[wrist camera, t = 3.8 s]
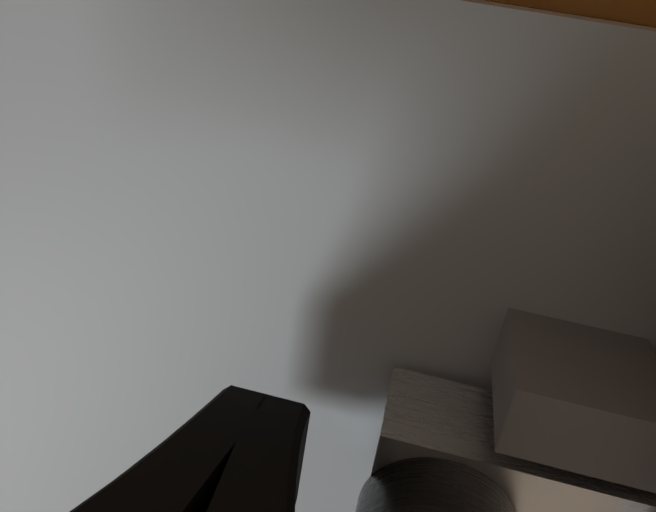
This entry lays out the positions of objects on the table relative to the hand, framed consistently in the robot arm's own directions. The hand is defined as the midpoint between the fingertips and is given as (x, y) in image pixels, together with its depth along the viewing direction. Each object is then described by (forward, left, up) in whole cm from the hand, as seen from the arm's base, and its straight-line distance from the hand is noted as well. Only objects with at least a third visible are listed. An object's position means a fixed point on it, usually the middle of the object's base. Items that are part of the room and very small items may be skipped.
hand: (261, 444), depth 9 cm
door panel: (0, +2, -3) cm, 3 cm away
